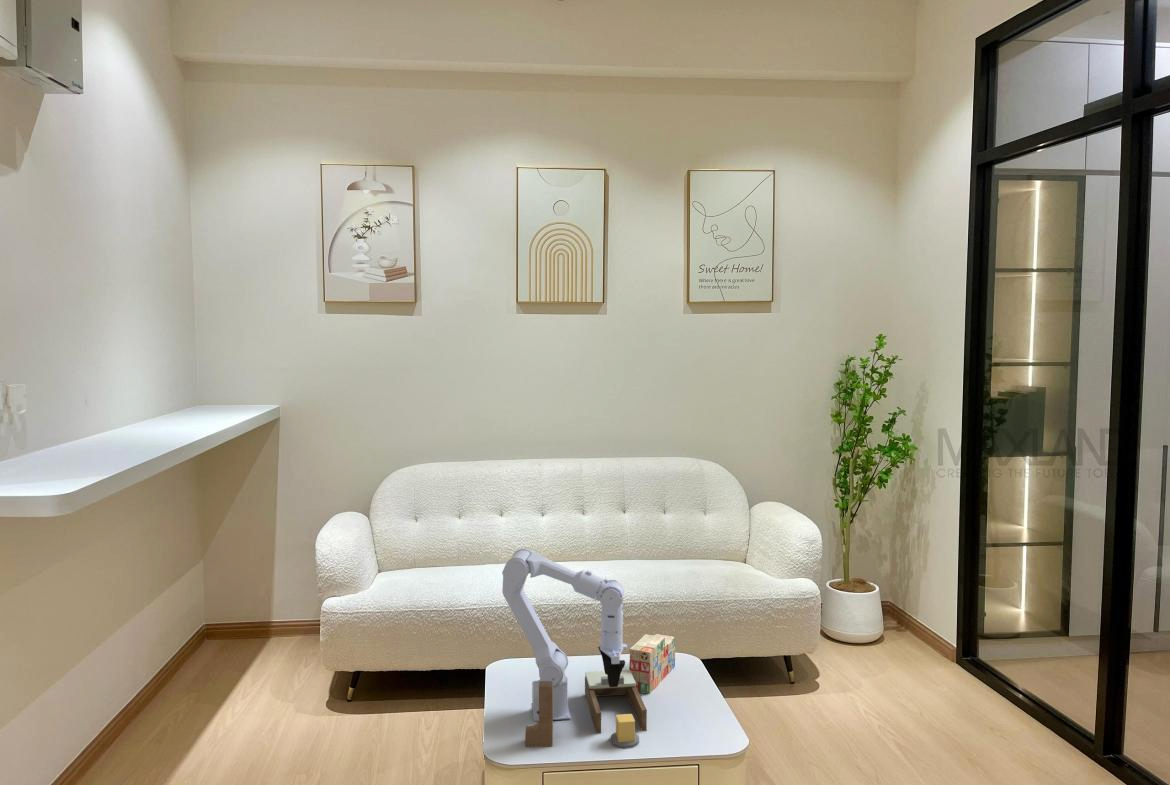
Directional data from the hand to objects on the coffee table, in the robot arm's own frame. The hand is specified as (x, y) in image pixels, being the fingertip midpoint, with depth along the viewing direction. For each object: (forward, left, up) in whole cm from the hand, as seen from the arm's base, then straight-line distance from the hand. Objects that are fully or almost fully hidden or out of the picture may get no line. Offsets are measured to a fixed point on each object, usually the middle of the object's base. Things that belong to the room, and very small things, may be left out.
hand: (611, 680), depth 209 cm
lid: (+1, +10, -4) cm, 11 cm away
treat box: (+1, +3, -10) cm, 10 cm away
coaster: (+1, -13, -10) cm, 16 cm away
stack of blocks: (+16, +23, -10) cm, 30 cm away
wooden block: (-20, -11, -10) cm, 25 cm away
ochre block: (+1, -13, -9) cm, 16 cm away
